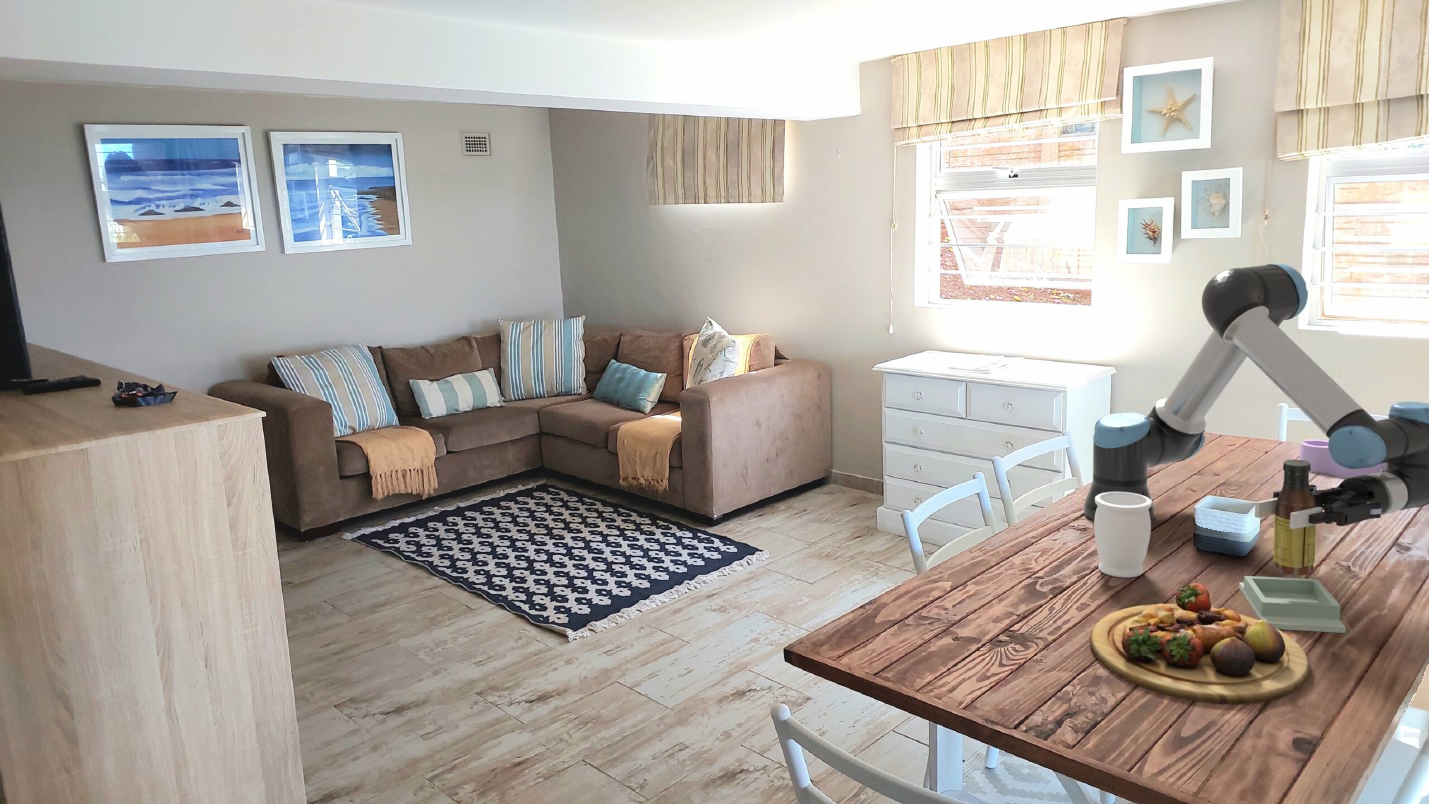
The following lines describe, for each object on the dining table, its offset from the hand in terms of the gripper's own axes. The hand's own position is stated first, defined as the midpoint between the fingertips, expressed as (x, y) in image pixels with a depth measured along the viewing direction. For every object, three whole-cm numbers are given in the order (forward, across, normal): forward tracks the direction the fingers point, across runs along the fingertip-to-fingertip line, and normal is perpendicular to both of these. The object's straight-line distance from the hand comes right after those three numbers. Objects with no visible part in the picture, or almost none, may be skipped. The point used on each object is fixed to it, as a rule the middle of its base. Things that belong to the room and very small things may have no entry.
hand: (1274, 515), depth 166 cm
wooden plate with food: (+23, +6, +19) cm, 30 cm away
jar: (+8, -27, +18) cm, 34 cm away
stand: (-5, 0, +18) cm, 19 cm away
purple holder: (-88, -53, +18) cm, 104 cm away
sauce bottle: (-5, 0, +11) cm, 12 cm away
